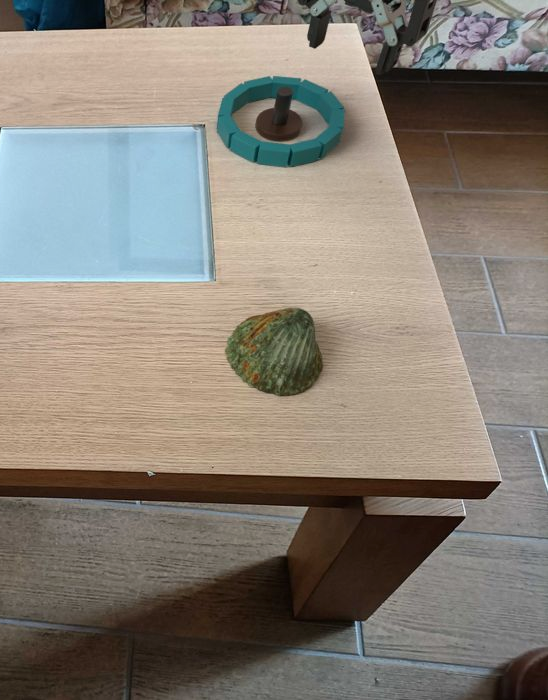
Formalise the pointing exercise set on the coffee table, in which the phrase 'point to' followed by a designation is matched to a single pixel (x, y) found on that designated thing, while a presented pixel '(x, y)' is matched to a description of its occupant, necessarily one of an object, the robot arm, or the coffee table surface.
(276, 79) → the ring
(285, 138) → the peg stand
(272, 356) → the seashell
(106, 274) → the coffee table surface
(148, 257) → the coffee table surface
